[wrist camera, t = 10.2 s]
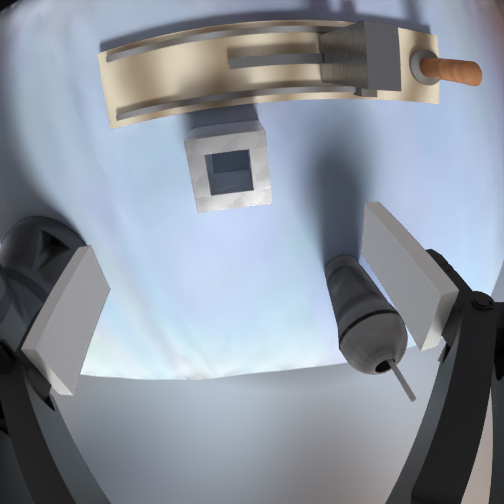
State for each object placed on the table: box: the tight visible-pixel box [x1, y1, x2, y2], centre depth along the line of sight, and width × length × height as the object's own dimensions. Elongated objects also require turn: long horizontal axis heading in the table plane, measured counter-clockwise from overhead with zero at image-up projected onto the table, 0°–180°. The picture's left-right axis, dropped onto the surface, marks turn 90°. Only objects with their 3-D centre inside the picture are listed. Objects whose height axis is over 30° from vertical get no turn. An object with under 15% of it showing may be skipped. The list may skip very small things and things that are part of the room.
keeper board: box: [98, 20, 482, 129], centre depth 21 cm, size 34×8×9 cm, turn 96°
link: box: [184, 120, 272, 213], centre depth 27 cm, size 6×6×6 cm
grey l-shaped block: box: [229, 21, 401, 92], centre depth 19 cm, size 11×5×10 cm, turn 96°
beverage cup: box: [325, 255, 416, 402], centre depth 30 cm, size 7×7×20 cm
